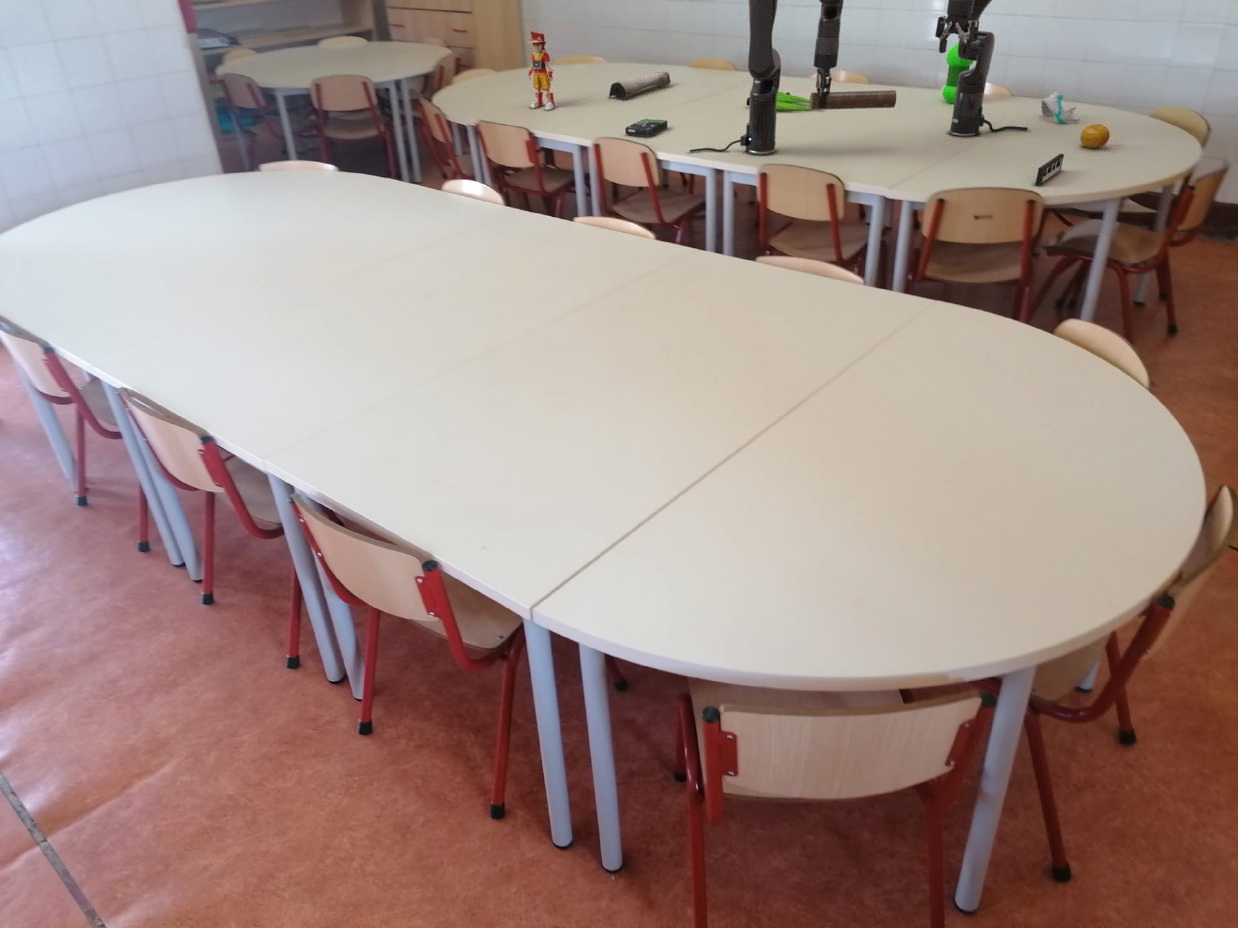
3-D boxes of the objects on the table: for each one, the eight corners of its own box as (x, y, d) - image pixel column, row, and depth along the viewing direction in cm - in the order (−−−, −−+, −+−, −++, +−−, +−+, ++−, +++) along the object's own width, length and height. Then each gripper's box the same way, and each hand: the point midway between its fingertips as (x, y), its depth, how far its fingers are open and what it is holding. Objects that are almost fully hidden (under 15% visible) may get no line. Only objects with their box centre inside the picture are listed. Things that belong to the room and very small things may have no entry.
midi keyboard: (1039, 185, 269) (1043, 168, 266) (1035, 184, 270) (1038, 168, 267) (1060, 170, 279) (1064, 154, 277) (1056, 169, 280) (1060, 153, 277)
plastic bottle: (973, 101, 354) (984, 32, 339) (955, 106, 349) (966, 36, 335) (952, 97, 361) (962, 29, 346) (934, 102, 356) (944, 33, 342)
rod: (891, 105, 303) (893, 88, 299) (894, 109, 298) (897, 92, 295) (809, 107, 303) (810, 91, 300) (811, 112, 299) (813, 95, 296)
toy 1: (525, 109, 381) (517, 32, 364) (534, 104, 388) (527, 28, 371) (550, 110, 377) (543, 32, 360) (559, 105, 384) (553, 28, 367)
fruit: (1076, 138, 294) (1094, 116, 291) (1073, 141, 302) (1090, 120, 299) (1098, 153, 293) (1116, 131, 290) (1095, 155, 300) (1112, 134, 297)
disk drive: (648, 138, 335) (668, 127, 345) (648, 130, 333) (667, 120, 343) (625, 135, 340) (644, 125, 350) (624, 127, 338) (644, 117, 348)
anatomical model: (1035, 91, 328) (1062, 83, 328) (1034, 119, 334) (1061, 112, 334) (1054, 100, 316) (1083, 93, 315) (1053, 130, 322) (1081, 122, 321)
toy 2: (737, 109, 358) (807, 121, 345) (739, 95, 355) (810, 107, 342) (766, 99, 378) (833, 110, 366) (767, 86, 375) (835, 96, 363)
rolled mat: (651, 76, 408) (662, 61, 399) (662, 93, 408) (674, 79, 400) (605, 92, 391) (616, 77, 383) (617, 110, 391) (628, 95, 383)
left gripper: (811, 47, 296) (806, 100, 306) (818, 56, 285) (813, 111, 295) (834, 46, 296) (828, 100, 306) (842, 55, 285) (836, 111, 294)
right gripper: (935, -3, 279) (927, 53, 288) (972, 1, 269) (963, 59, 278) (951, -6, 282) (943, 50, 291) (989, -2, 272) (979, 56, 281)
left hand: (820, 105), depth 300 cm, fingers closed on rod, 5 cm apart
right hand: (953, 54), depth 285 cm, fingers open, 8 cm apart
